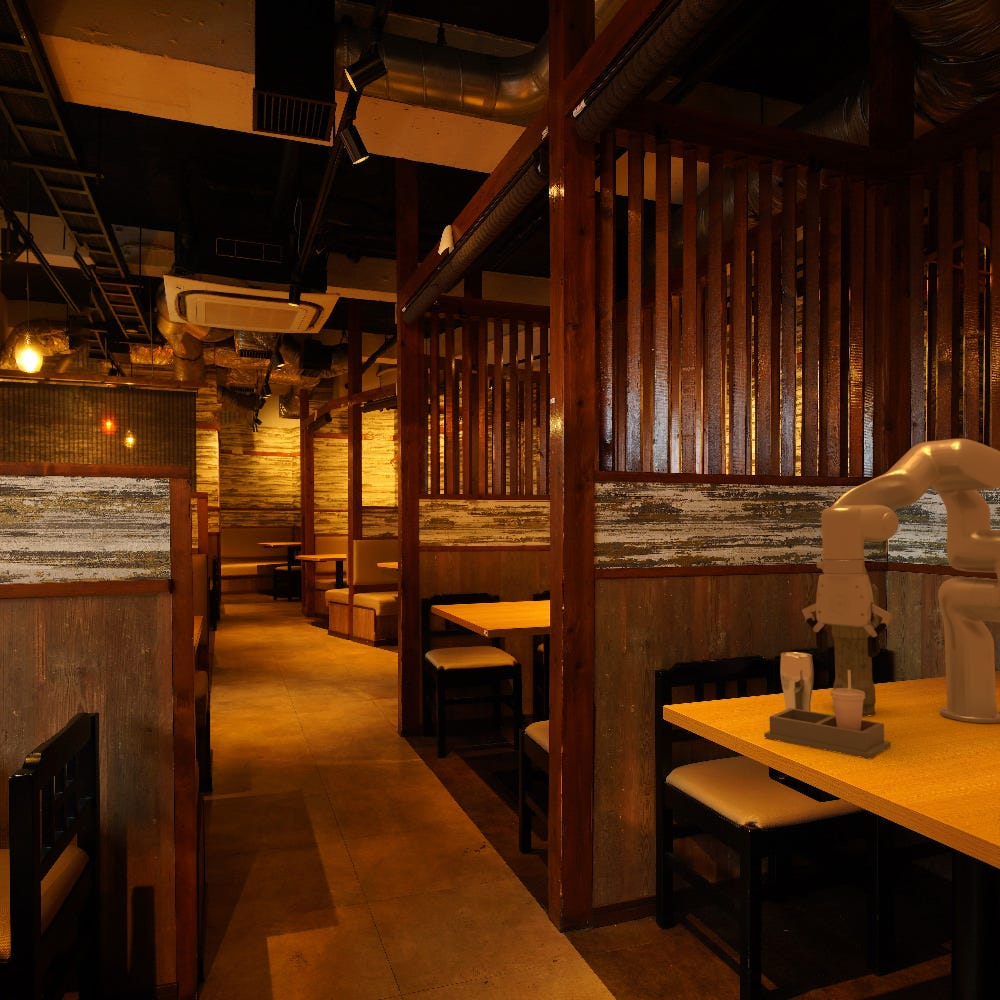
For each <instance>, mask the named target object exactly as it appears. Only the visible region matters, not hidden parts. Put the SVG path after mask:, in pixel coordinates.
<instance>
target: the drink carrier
mask: <svg viewBox="0 0 1000 1000" xmlns="http://www.w3.org/2000/svg"><path fill="white" fill-rule="evenodd" d="M763 734H764V736H763V737H766V738H765V739H767V738H771V739H770V740H772V739H776V740H775V741H777V740H780V741H779V742H782V741H784V742H783V743H787V742H789V743H788V744H792V743H794V744H793V745H797V744H799V746H802V745H804V746H803V747H807V746H810V747H809V748H812V747H815V748H814V749H817V748H821V749H820V750H822V749H826V750H825V751H827V750H831V751H830V752H832V751H836V752H835V753H837V752H841V753H840V754H842V753H845V754H844V755H847V754H851V755H850V756H852V755H855V756H854V757H857V756H861V757H860V758H862V757H865V758H864V759H867V758H870V759H869V760H872V759H873V758H872V757H874V756H875V757H877V756H878V755H879V753H880V752H882V751H883V750H885V749H886V750H887V748H888V747H889V748H891V747H890V746H892V745H891V744H892V742H891V741H890V740H885V723H883V722H877V721H870V720H867V719H866V720H865V719H862V721H861V731H856V730H850V729H844V728H839V727H837V723H836V717H835V714H829V713H822V712H817V711H812V710H811V711H806V710H800V709H794V708H789V709H787V710H785V709H784V710H782V711H780V712H776V713H775V714H771V715H770V716H769V730H767V732H764V733H763ZM889 748H888V749H889ZM886 750H885V751H886ZM883 752H884V751H883ZM883 752H882V753H883ZM877 754H878V755H877ZM880 754H881V753H880ZM876 755H877V756H876ZM875 757H874V758H875ZM871 758H872V759H871Z"/></svg>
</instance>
